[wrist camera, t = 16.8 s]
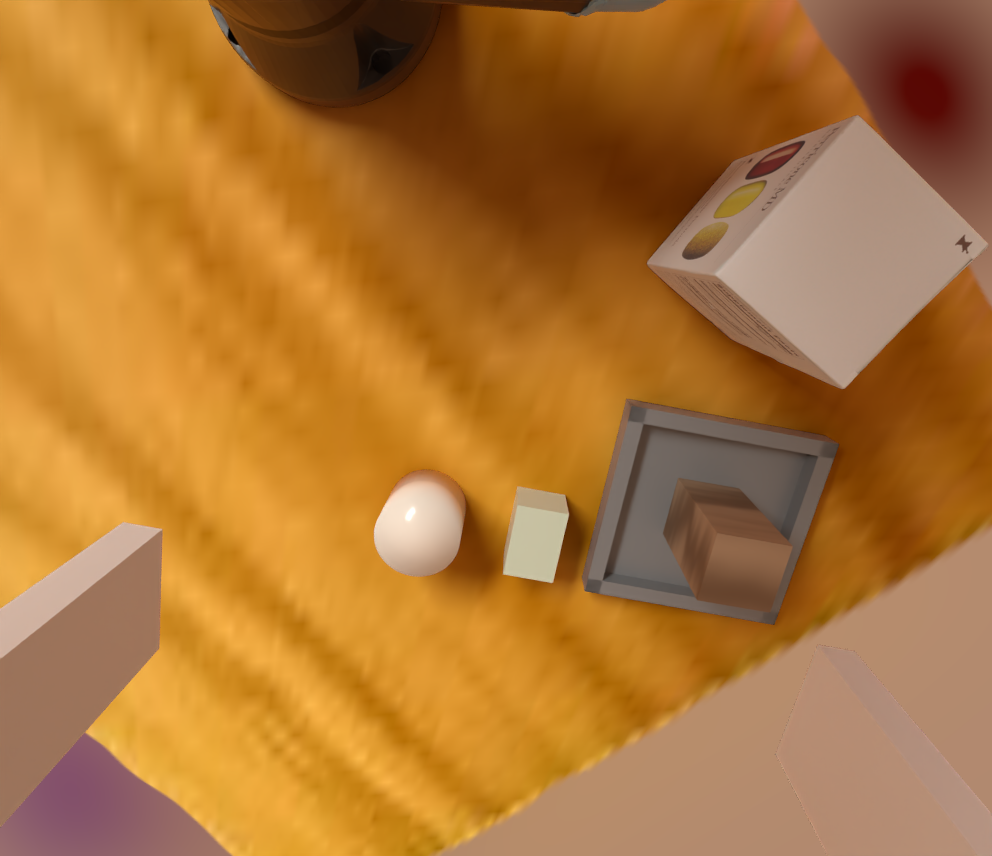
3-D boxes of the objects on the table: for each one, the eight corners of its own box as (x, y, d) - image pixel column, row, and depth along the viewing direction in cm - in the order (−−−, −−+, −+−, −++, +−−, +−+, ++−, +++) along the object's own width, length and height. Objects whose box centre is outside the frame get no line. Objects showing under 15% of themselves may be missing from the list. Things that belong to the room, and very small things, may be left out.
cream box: (517, 485, 51) (517, 505, 47) (565, 494, 51) (569, 514, 47) (504, 550, 53) (503, 574, 49) (550, 558, 53) (552, 583, 49)
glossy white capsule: (395, 463, 50) (379, 490, 45) (472, 477, 51) (466, 506, 45) (385, 532, 52) (369, 568, 47) (459, 546, 52) (452, 583, 47)
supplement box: (734, 155, 43) (864, 101, 27) (826, 241, 45) (1002, 238, 28) (641, 266, 46) (710, 276, 29) (731, 344, 47) (845, 395, 31)
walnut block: (678, 477, 49) (717, 533, 40) (739, 488, 49) (792, 546, 40) (662, 533, 51) (697, 600, 41) (721, 543, 51) (770, 612, 41)
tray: (626, 398, 48) (631, 405, 46) (825, 435, 49) (839, 444, 47) (581, 577, 53) (584, 591, 51) (763, 609, 53) (774, 624, 51)
